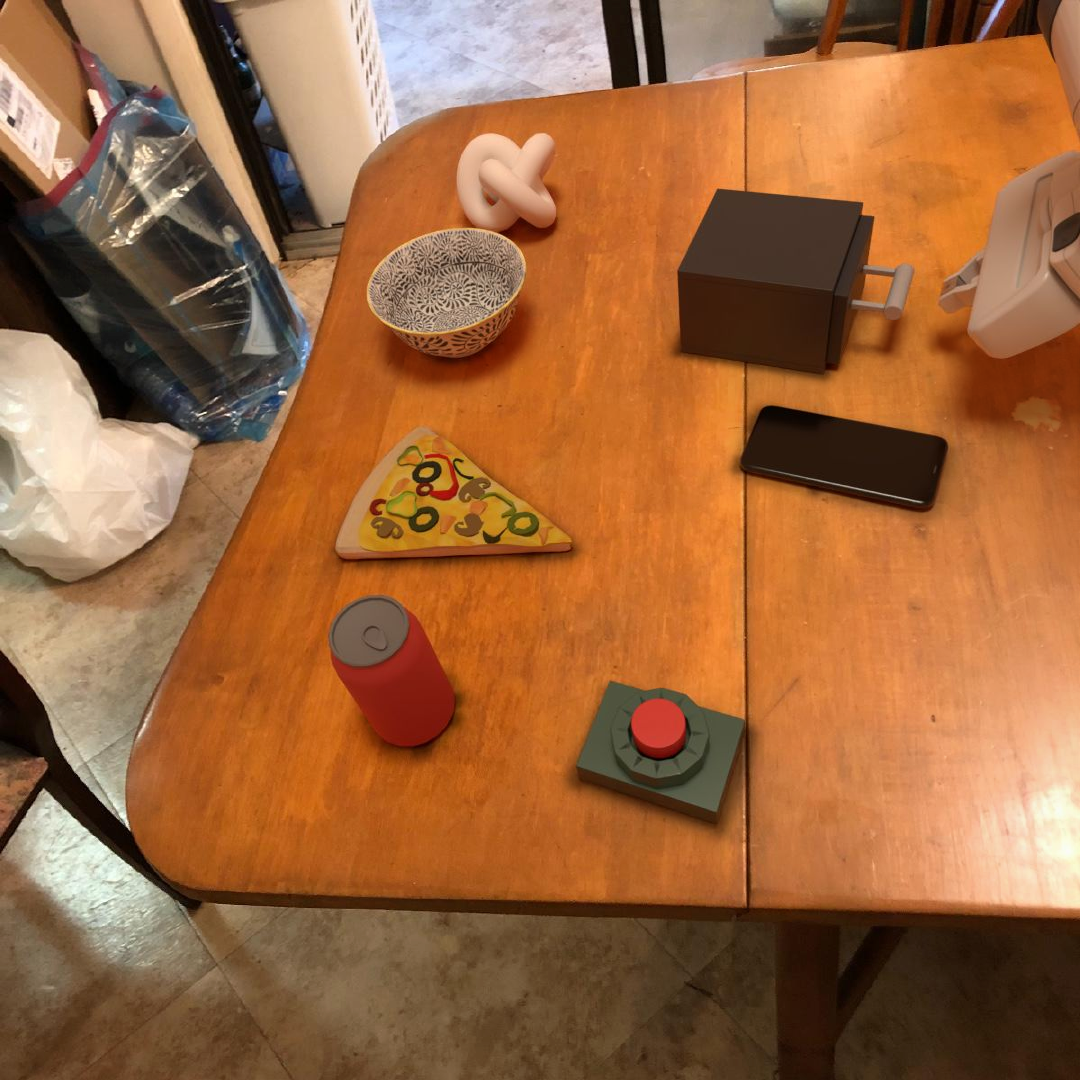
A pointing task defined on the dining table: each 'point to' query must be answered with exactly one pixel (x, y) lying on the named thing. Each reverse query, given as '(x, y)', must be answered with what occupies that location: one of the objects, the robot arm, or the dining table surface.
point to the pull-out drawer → (852, 287)
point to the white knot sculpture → (506, 181)
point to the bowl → (449, 290)
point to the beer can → (391, 670)
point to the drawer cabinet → (765, 278)
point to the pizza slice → (439, 508)
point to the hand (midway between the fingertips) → (944, 298)
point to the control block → (671, 782)
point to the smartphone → (846, 455)
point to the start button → (658, 728)
